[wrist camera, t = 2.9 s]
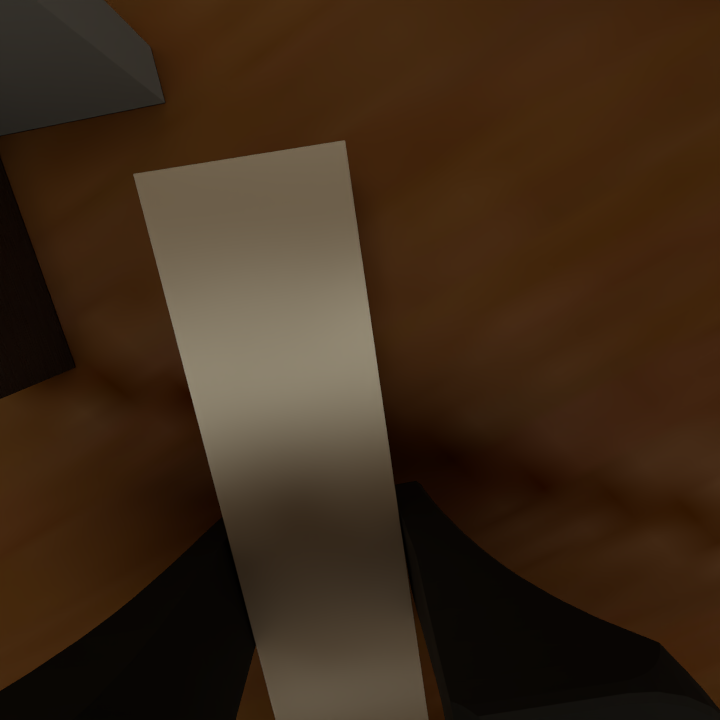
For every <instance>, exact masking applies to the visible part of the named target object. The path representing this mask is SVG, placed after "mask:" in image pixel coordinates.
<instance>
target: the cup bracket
mask: <svg viewBox="0 0 720 720" xmlns="http://www.w3.org/2000/svg"><path fill="white" fill-rule="evenodd" d="M73 368H75V365H74V362H73V360H72V357H71V354H70V351H69V349H68V346H67V343H66V340H65V338H64V335H63V332H62V329H61V326H60V324H59V321H58V318H57V315H56V313H55V310H54V307H53V304H52V301H51V299H50V296H49V293H48V290H47V288H46V285H45V282H44V279H43V276H42V274H41V271H40V268H39V265H38V263H37V260H36V257H35V254H34V251H33V249H32V246H31V243H30V240H29V238H28V235H27V232H26V229H25V227H24V224H23V221H22V218H21V215H20V213H19V210H18V207H17V204H16V202H15V199H14V196H13V193H12V190H11V188H10V185H9V182H8V179H7V177H6V174H5V171H4V168H3V165H2V163H1V160H0V399H1V398H4V397H6V396H8V395H11V394H13V393H16V392H18V391H20V390H23V389H25V388H28V387H30V386H32V385H35V384H37V383H39V382H42V381H44V380H47V379H49V378H51V377H54V376H56V375H59V374H61V373H63V372H66V371H68V370H70V369H73Z"/></svg>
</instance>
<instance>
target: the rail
mask: <svg viewBox="0 0 720 720" xmlns="http://www.w3.org/2000/svg"><path fill="white" fill-rule="evenodd" d="M133 175H134V179H135V183H136V186H137V190H138V194H139V198H140V202H141V206H142V209H143V213H144V217H145V221H146V225H147V229H148V232H149V236H150V240H151V244H152V248H153V252H154V256H155V259H156V263H157V267H158V271H159V275H160V279H161V282H162V286H163V290H164V294H165V298H166V302H167V305H168V309H169V313H170V317H171V321H172V325H173V328H174V332H175V336H176V340H177V344H178V348H179V351H180V355H181V359H182V363H183V367H184V371H185V374H186V378H187V382H188V386H189V390H190V394H191V397H192V401H193V405H194V409H195V413H196V417H197V420H198V424H199V428H200V432H201V436H202V440H203V443H204V447H205V451H206V455H207V459H208V463H209V466H210V470H211V474H212V478H213V482H214V486H215V489H216V493H217V497H218V501H219V505H220V509H221V512H222V516H223V520H224V524H225V528H226V532H227V535H228V539H229V543H230V547H231V551H232V555H233V559H234V562H235V566H236V570H237V574H238V578H239V582H240V585H241V589H242V593H243V597H244V601H245V605H246V608H247V612H248V616H249V620H250V624H251V628H252V631H253V635H254V639H255V643H256V647H257V651H258V654H259V658H260V662H261V666H262V670H263V674H264V677H265V681H266V685H267V689H268V693H269V697H270V700H271V704H272V708H273V712H274V716H275V720H428V714H427V707H426V700H425V693H424V686H423V679H422V672H421V665H420V658H419V651H418V645H417V638H416V631H415V624H414V617H413V610H412V603H411V596H410V589H409V582H408V575H407V568H406V561H405V554H404V547H403V540H402V534H401V527H400V520H399V513H398V506H397V499H396V492H395V485H394V478H393V471H392V464H391V457H390V450H389V443H388V436H387V429H386V422H385V416H384V409H383V402H382V395H381V388H380V381H379V374H378V367H377V360H376V353H375V346H374V339H373V332H372V325H371V318H370V311H369V304H368V298H367V291H366V284H365V277H364V270H363V263H362V256H361V249H360V242H359V235H358V228H357V221H356V214H355V207H354V200H353V193H352V186H351V180H350V173H349V166H348V159H347V152H346V145H345V140H344V141H338V142H332V143H325V144H319V145H313V146H307V147H300V148H294V149H288V150H282V151H275V152H269V153H263V154H256V155H250V156H244V157H238V158H231V159H225V160H219V161H213V162H206V163H200V164H194V165H188V166H181V167H175V168H169V169H162V170H156V171H150V172H144V173H137V174H133Z"/></svg>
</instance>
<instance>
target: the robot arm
mask: <svg viewBox="0 0 720 720" xmlns="http://www.w3.org/2000/svg"><path fill="white" fill-rule="evenodd" d="M395 492H396V499H397V506H398V513H399V520H400V527H401V534H402V540H403V546H404V552H405V557H406V563H407V568H408V574H409V579H410V585H411V590H412V594H413V598H414V601H415V605H416V609H417V612H418V616H419V620H420V623H421V627H422V630H423V634H424V638H425V641H426V645H427V648H428V652H429V656H430V659H431V663H432V666H433V670H434V674H435V677H436V681H437V685H438V689H439V693H440V697H441V701H442V706H443V711H444V716H445V720H720V710H719V708H718V707H717V706H716V705H715V703H714V702H713V701H712V700H711V698H710V697H709V696H708V695H707V693H706V692H705V691H704V690H703V689H702V688H701V687H700V685H699V684H698V683H697V682H696V681H695V680H694V679H693V678H692V677H691V675H690V674H689V673H688V672H687V671H686V670H685V669H684V668H683V667H682V666H681V665H680V664H679V663H678V662H677V661H676V660H675V659H674V658H673V657H672V656H671V655H670V654H669V653H668V652H667V650H666V649H665V648H664V647H663V646H662V645H661V644H660V643H659V642H656V641H654V640H651V639H649V638H646V637H644V636H641V635H639V634H636V633H634V632H631V631H629V630H626V629H624V628H621V627H619V626H616V625H614V624H611V623H609V622H606V621H604V620H601V619H599V618H597V617H595V616H592V615H590V614H588V613H586V612H584V611H582V610H580V609H578V608H576V607H574V606H572V605H570V604H568V603H565V602H563V601H562V600H560V599H558V598H556V597H554V596H552V595H550V594H549V593H547V592H545V591H543V590H542V589H540V588H538V587H537V586H535V585H533V584H531V583H530V582H528V581H526V580H525V579H523V578H521V577H520V576H518V575H517V574H515V573H514V572H512V571H511V570H509V569H508V568H506V567H505V566H504V565H502V564H501V563H500V562H498V561H497V560H495V559H494V558H493V557H491V556H490V555H489V554H488V553H486V552H485V551H484V550H483V549H481V548H480V547H479V546H478V545H477V544H476V543H474V542H473V541H472V540H471V539H470V538H469V537H468V536H466V535H465V534H464V533H463V532H462V531H461V530H460V529H459V528H458V527H457V526H456V525H455V524H454V523H453V522H452V521H451V520H450V519H449V518H448V517H447V516H446V515H445V514H444V513H443V512H442V511H441V510H440V508H439V507H438V506H437V505H436V504H435V503H434V501H433V500H432V499H431V498H430V497H429V495H428V494H427V493H426V491H425V490H424V488H423V487H422V485H421V484H420V483H418V482H417V481H414V482H408V483H403V484H397V485H395ZM255 645H256V643H255V639H254V635H253V631H252V628H251V624H250V620H249V616H248V612H247V608H246V605H245V601H244V597H243V593H242V589H241V585H240V582H239V578H238V574H237V570H236V566H235V562H234V559H233V555H232V551H231V547H230V543H229V539H228V535H227V532H226V528H225V524H224V520H223V517H222V518H221V519H220V520H219V521H217V522H216V523H215V524H214V525H213V526H212V527H211V528H210V529H209V530H208V531H207V532H206V533H204V534H203V535H202V536H201V537H200V538H199V539H198V540H197V541H196V542H195V543H194V544H193V545H192V546H191V547H190V548H189V549H188V550H187V551H185V552H184V553H183V554H182V555H181V556H180V557H179V558H178V559H177V560H176V561H175V562H174V563H173V564H172V565H171V566H169V567H168V568H167V569H166V570H165V571H164V572H163V573H162V574H160V575H159V576H158V577H157V578H156V579H155V580H154V581H152V582H151V583H150V584H149V585H148V586H147V587H146V588H144V589H143V590H142V591H141V592H140V593H139V594H138V595H136V596H135V597H134V598H133V599H132V600H130V601H129V602H128V603H127V604H126V605H124V606H123V607H122V608H121V609H119V610H118V611H117V612H115V613H114V614H113V615H112V616H110V617H109V618H108V619H106V620H105V621H104V622H102V623H101V624H100V625H98V626H97V627H96V628H94V629H93V630H92V631H90V632H89V633H88V634H86V635H85V636H84V637H82V638H81V639H79V640H78V641H76V642H75V643H73V644H72V645H70V646H69V647H67V648H66V649H64V650H63V651H62V652H60V653H59V654H57V655H56V656H54V657H53V658H51V659H50V660H48V661H47V662H45V663H44V664H42V665H41V666H39V667H38V668H36V669H35V670H33V671H32V672H30V673H29V674H27V675H25V676H24V677H22V678H21V679H19V680H17V681H16V682H14V683H12V684H11V685H9V686H8V687H6V688H4V689H3V690H1V691H0V720H236V716H237V712H238V708H239V705H240V701H241V697H242V694H243V690H244V686H245V682H246V679H247V675H248V671H249V667H250V664H251V660H252V656H253V653H254V649H255Z"/></svg>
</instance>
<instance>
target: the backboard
mask: <svg viewBox="0 0 720 720" xmlns="http://www.w3.org/2000/svg"><path fill="white" fill-rule="evenodd" d="M161 103H165V100H164V97H163V93H162V89H161V85H160V81H159V78H158V74H157V70H156V66H155V63H154V59H153V55H152V51H151V47H150V46H149V45H148V44H147V43H146V42H145V41H144V40H143V39H142V38H141V37H140V36H139V35H138V34H137V33H136V32H135V31H134V30H133V29H132V28H131V27H130V26H129V25H128V24H127V23H126V22H125V21H124V20H123V19H122V18H121V17H120V16H119V15H118V14H117V13H116V12H115V11H114V10H113V9H112V8H111V7H110V6H109V5H108V4H107V3H106V2H105V1H104V0H0V136H1V135H6V134H11V133H16V132H21V131H26V130H31V129H36V128H41V127H46V126H51V125H56V124H61V123H66V122H71V121H76V120H81V119H86V118H91V117H96V116H101V115H106V114H111V113H116V112H121V111H126V110H131V109H136V108H141V107H146V106H151V105H156V104H161Z"/></svg>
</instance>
